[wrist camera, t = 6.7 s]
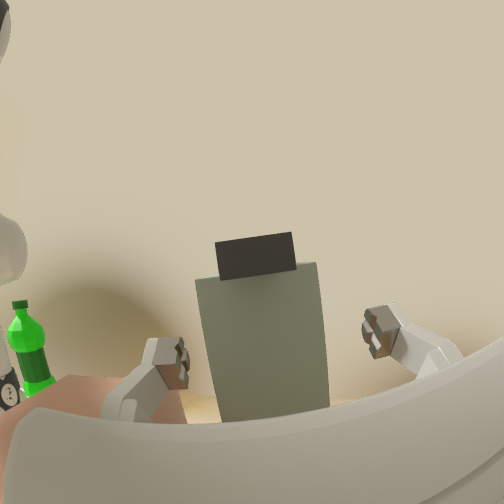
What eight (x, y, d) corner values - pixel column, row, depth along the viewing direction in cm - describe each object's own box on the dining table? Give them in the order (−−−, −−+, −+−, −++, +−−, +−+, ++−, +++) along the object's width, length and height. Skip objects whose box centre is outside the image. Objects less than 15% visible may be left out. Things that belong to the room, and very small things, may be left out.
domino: (220, 281, 14) (214, 240, 14) (238, 270, 36) (236, 254, 36) (296, 269, 14) (290, 229, 14) (268, 266, 36) (266, 250, 36)
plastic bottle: (49, 391, 50) (26, 299, 51) (70, 399, 47) (44, 297, 48) (22, 402, 40) (-4, 303, 41) (41, 413, 37) (11, 302, 38)
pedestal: (243, 499, 21) (194, 279, 22) (245, 437, 35) (215, 273, 36) (330, 486, 21) (316, 262, 22) (309, 428, 35) (291, 262, 36)
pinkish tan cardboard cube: (78, 577, 4) (-43, 438, 5) (123, 496, 20) (68, 374, 21) (202, 611, 4) (83, 512, 5) (216, 505, 20) (174, 377, 21)
